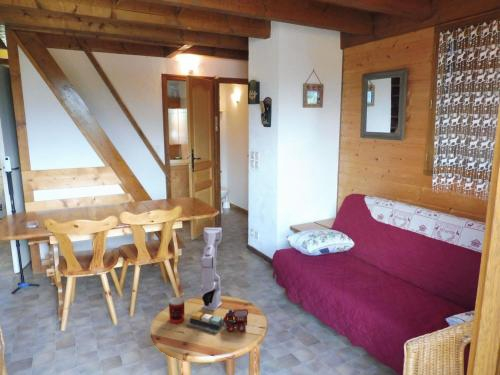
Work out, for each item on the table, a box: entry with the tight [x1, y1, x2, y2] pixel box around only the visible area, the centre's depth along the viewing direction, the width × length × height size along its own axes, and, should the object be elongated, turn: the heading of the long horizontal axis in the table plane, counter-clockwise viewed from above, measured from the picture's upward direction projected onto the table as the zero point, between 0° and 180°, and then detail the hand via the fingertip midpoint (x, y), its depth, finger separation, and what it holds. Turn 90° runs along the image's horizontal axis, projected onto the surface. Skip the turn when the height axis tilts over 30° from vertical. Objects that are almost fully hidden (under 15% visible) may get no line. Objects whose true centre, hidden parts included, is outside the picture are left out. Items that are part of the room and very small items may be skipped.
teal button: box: [211, 315, 223, 325], centre depth 190 cm, size 4×4×2 cm
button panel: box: [185, 313, 224, 335], centre depth 192 cm, size 12×17×3 cm
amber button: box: [191, 311, 204, 320], centre depth 194 cm, size 4×4×2 cm
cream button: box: [202, 313, 213, 323], centre depth 192 cm, size 4×4×2 cm
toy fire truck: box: [222, 308, 249, 333], centre depth 188 cm, size 7×12×10 cm, turn 95°
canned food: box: [168, 296, 186, 325], centre depth 195 cm, size 8×8×11 cm
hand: (208, 304), depth 194 cm, fingers open, 3 cm apart
